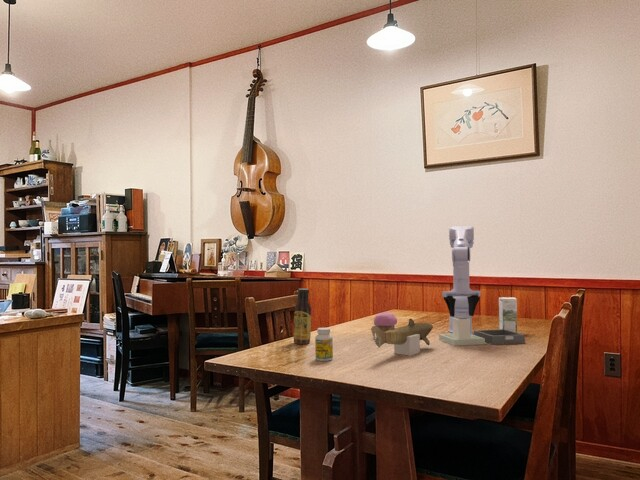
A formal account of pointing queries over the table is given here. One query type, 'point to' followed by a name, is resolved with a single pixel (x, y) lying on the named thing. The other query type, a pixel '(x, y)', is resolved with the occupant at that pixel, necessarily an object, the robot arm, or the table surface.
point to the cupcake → (385, 321)
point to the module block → (461, 328)
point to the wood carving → (403, 337)
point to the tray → (461, 340)
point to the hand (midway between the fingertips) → (461, 316)
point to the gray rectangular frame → (500, 336)
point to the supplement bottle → (324, 345)
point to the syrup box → (508, 313)
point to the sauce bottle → (302, 318)
